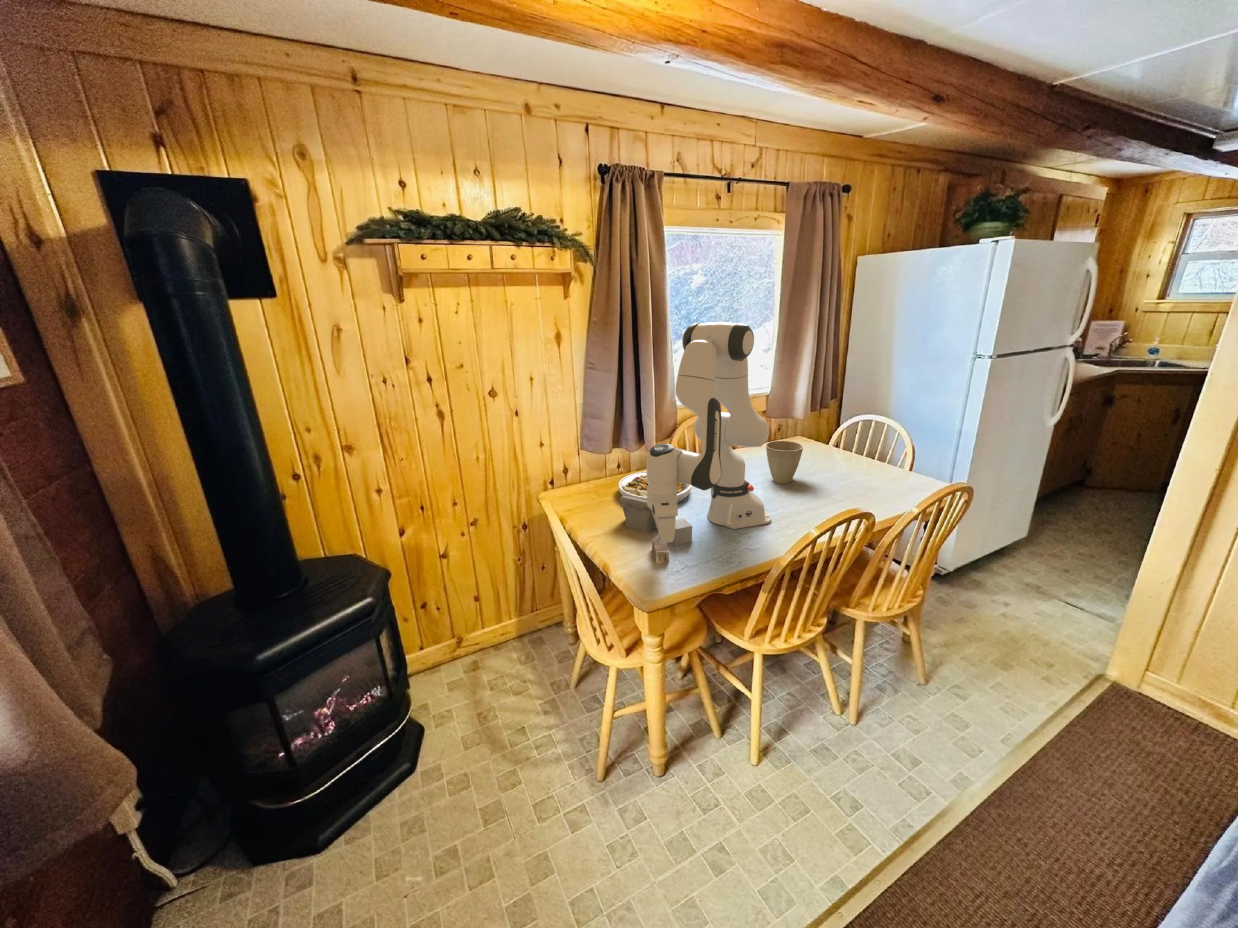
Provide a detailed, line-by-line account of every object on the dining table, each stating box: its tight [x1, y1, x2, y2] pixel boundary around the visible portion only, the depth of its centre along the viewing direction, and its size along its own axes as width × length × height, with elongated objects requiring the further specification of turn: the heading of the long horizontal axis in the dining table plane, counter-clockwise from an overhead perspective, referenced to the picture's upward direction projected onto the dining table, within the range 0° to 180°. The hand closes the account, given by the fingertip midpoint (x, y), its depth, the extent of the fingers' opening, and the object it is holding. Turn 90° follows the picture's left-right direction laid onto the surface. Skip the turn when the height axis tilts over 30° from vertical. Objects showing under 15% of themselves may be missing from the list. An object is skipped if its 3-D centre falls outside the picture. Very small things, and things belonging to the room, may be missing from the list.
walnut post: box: [651, 537, 670, 564], centre depth 150 cm, size 4×4×9 cm
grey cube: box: [672, 518, 693, 546], centre depth 159 cm, size 6×6×6 cm
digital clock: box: [619, 495, 657, 534], centre depth 169 cm, size 16×9×11 cm, turn 45°
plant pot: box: [765, 440, 804, 484], centre depth 203 cm, size 15×15×16 cm
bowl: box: [618, 470, 693, 503], centre depth 196 cm, size 30×30×8 cm
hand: (662, 541), depth 144 cm, fingers closed
